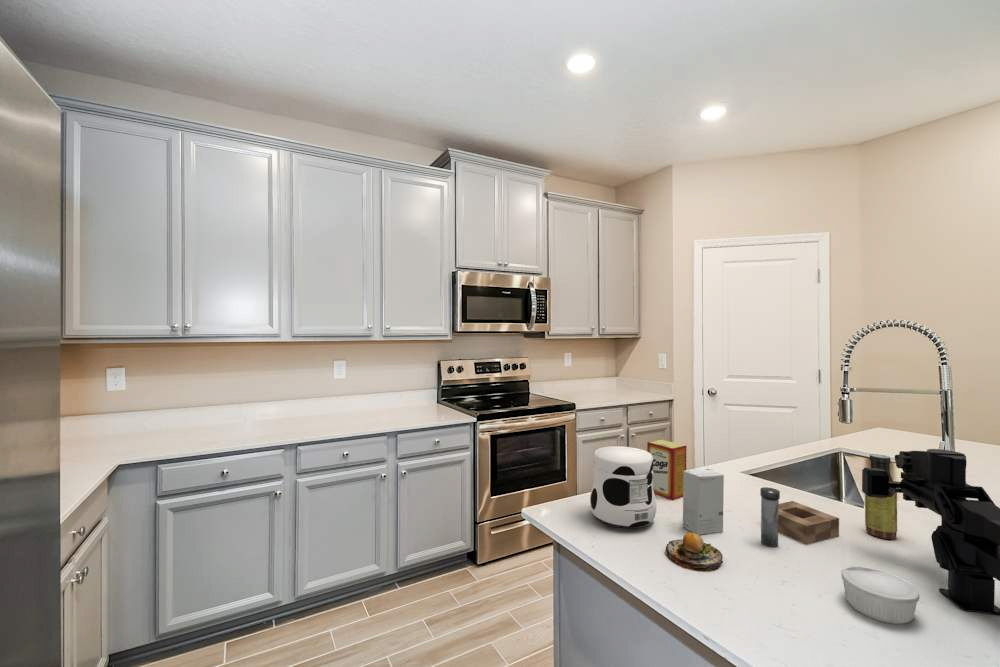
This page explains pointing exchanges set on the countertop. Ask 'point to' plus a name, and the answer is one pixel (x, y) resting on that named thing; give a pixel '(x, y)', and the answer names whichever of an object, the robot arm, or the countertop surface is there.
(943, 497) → the robot arm
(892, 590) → the ramekin
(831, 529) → the wooden peg base
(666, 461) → the baking soda box
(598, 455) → the milk container
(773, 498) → the grey cylinder
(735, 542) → the countertop surface
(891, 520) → the sauce bottle
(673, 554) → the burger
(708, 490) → the skincare box
